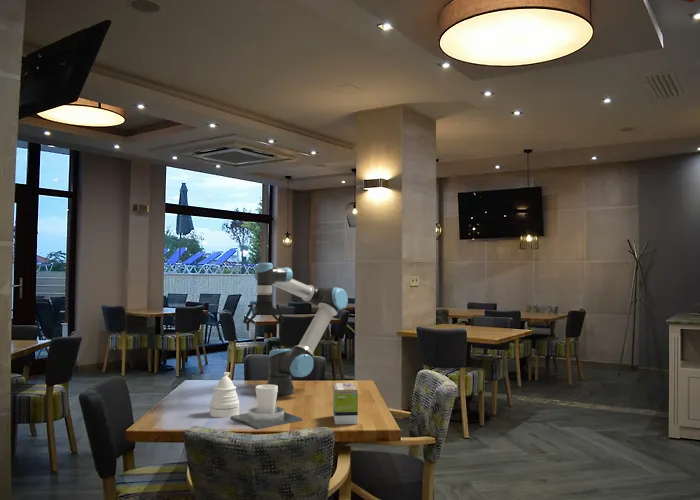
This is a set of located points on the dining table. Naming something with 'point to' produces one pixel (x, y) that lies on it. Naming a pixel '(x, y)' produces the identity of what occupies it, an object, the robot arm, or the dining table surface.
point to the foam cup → (266, 398)
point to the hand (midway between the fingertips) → (263, 337)
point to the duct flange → (265, 418)
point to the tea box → (345, 403)
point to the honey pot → (224, 399)
